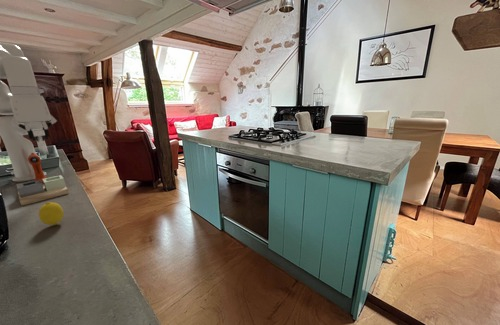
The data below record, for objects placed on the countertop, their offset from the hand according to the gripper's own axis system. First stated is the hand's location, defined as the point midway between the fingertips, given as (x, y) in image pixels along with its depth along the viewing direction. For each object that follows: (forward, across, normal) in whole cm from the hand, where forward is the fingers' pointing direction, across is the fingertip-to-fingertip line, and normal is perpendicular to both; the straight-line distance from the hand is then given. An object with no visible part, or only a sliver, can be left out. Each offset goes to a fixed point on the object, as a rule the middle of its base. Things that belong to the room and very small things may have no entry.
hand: (40, 139), depth 87 cm
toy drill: (+23, +3, -17) cm, 29 cm away
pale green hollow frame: (+21, 0, 0) cm, 21 cm away
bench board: (+23, +4, 0) cm, 23 cm away
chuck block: (+21, +7, 0) cm, 22 cm away
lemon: (+23, +4, +35) cm, 42 cm away
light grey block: (+6, 0, 0) cm, 6 cm away
